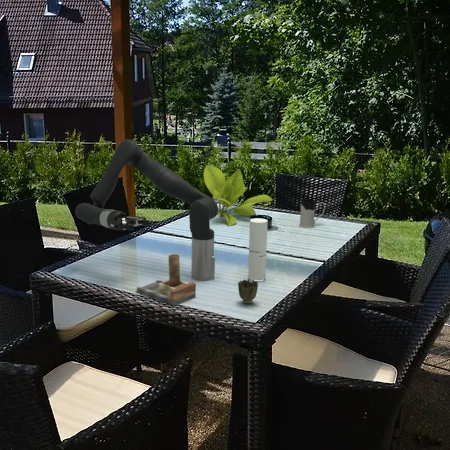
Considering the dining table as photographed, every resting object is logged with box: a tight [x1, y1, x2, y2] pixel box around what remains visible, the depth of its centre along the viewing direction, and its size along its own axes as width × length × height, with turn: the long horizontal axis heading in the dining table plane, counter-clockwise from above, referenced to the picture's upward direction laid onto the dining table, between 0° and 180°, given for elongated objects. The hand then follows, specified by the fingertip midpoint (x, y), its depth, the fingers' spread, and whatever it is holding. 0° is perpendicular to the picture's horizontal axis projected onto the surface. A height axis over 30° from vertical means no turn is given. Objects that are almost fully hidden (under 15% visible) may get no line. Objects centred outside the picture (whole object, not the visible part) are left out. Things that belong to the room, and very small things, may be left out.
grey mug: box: [298, 198, 326, 229], centre depth 319 cm, size 9×14×15 cm, turn 96°
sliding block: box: [158, 279, 189, 297], centre depth 212 cm, size 8×8×4 cm
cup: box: [237, 279, 259, 305], centre depth 208 cm, size 8×7×8 cm
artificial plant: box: [203, 164, 274, 227], centre depth 332 cm, size 42×43×30 cm
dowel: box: [168, 253, 181, 287], centre depth 209 cm, size 4×4×14 cm
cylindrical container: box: [247, 217, 268, 280], centre depth 231 cm, size 7×7×25 cm
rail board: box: [136, 279, 197, 307], centre depth 214 cm, size 20×12×6 cm, turn 51°
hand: (141, 225), depth 218 cm, fingers open, 8 cm apart
